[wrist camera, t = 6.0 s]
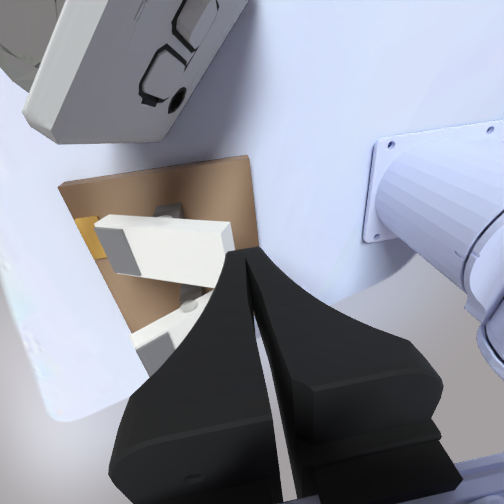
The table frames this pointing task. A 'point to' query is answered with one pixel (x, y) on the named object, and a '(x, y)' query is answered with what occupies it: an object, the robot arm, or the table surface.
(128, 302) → the switch board
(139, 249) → the front rocker
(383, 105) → the table surface
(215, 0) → the electrical switch
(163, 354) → the block
